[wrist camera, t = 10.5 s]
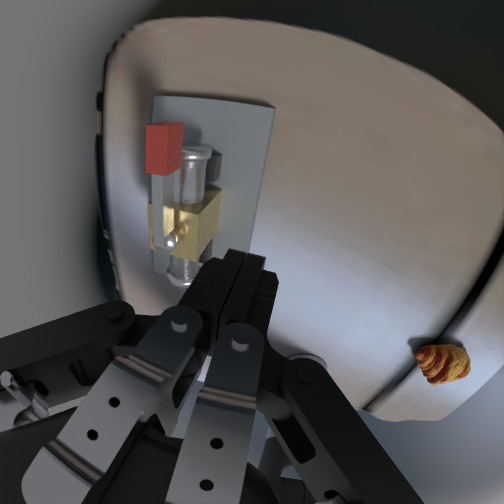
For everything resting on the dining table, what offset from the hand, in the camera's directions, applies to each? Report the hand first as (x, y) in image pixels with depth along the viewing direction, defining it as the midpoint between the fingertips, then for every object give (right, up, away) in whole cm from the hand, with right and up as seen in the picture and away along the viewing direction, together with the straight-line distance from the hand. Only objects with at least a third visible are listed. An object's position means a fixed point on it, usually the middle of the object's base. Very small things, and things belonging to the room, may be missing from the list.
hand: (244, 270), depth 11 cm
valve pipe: (-7, +7, +24) cm, 26 cm away
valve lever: (-8, +7, +14) cm, 18 cm away
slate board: (-6, +8, +25) cm, 27 cm away
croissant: (+40, -21, +31) cm, 55 cm away
